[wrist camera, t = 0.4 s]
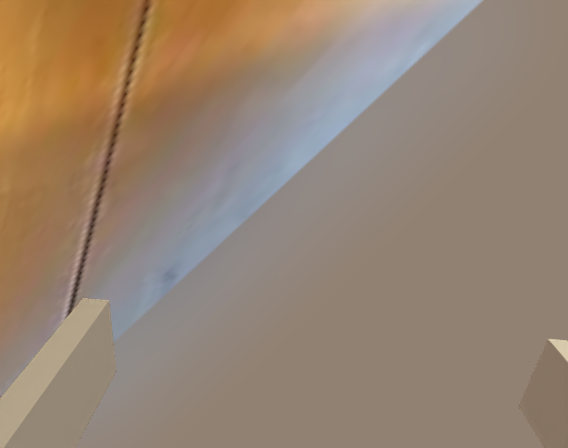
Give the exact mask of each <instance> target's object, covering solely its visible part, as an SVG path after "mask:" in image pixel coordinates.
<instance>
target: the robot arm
mask: <svg viewBox="0 0 568 448" xmlns="http://www.w3.org/2000/svg"><path fill="white" fill-rule="evenodd" d="M115 373H116V364H115V354H114V344H113V334H112V324H111V314H110V304H109V300H99V299H88V298H83V299H82V300H81V301H80V302H79V304H78V305H77V306H76V307H75V308H74V310H73V311H72V312H71V313H70V315H69V316H68V317H67V318H66V319H65V321H64V322H63V323H62V324H61V325H60V327H59V328H58V329H57V330H56V331H55V333H54V334H53V335H52V336H51V338H50V339H49V340H48V341H47V342H46V344H45V345H44V346H43V347H42V348H41V350H40V351H39V352H38V353H37V355H36V356H35V357H34V358H33V359H32V361H31V362H30V363H29V364H28V365H27V367H26V368H25V369H24V370H23V372H22V373H21V374H20V375H19V376H18V378H17V379H16V380H15V381H14V382H13V384H12V385H11V386H10V387H9V388H8V390H7V391H6V392H5V393H4V395H3V396H2V397H1V398H0V448H75V447H76V446H77V444H78V442H79V440H80V438H81V436H82V434H83V433H84V431H85V429H86V427H87V425H88V423H89V421H90V419H91V417H92V416H93V414H94V412H95V410H96V408H97V407H98V405H99V403H100V401H101V399H102V397H103V395H104V394H105V392H106V390H107V388H108V386H109V384H110V382H111V380H112V379H113V377H114V375H115ZM519 407H520V409H521V411H522V413H523V414H524V416H525V417H526V419H527V420H528V422H529V424H530V425H531V427H532V429H533V430H534V432H535V434H536V435H537V437H538V438H539V440H540V442H541V443H542V445H543V447H544V448H568V341H565V340H555V339H548V340H547V343H546V345H545V347H544V349H543V352H542V354H541V356H540V359H539V361H538V363H537V365H536V367H535V370H534V372H533V374H532V376H531V379H530V381H529V383H528V386H527V388H526V390H525V392H524V395H523V397H522V399H521V401H520V404H519Z"/></svg>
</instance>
